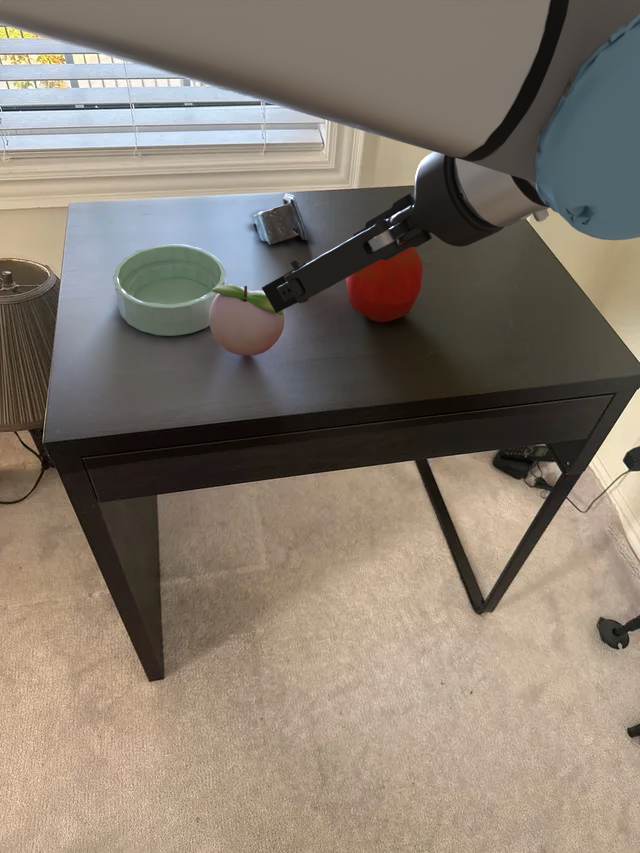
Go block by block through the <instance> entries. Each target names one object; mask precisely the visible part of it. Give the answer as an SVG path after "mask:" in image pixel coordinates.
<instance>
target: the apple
mask: <svg viewBox="0 0 640 853" xmlns="http://www.w3.org/2000/svg"><path fill="white" fill-rule="evenodd" d="M403 243H404V242H403ZM401 244H402V243H400V244H399V245H401ZM423 271H424V270H423V262H422V260H421V257H420V255H419V253H418V251H417V249H416V247H410V248H408V249H406V250H404V251H402V252H401V253H399V254H397V255H395V256H393V257H392V258H390V259H388V260H382V259H381V260H379V261H377V262H375V263H373V264H371V265H369V266H368V267H366V268H364V269H362V270H360V271H358V272H356V273H355V274H353V275H351V276H349V277H347V278H345V280H346V287H347V288H346V289H347V296H348V301H349V302H348V303H349V304H350V306H351V307H352V308H353V310H355V311H357V312H358V313H359V314H361V315H363V316H364V317H366V318H367V319H368V320H371V321H373V322H376V323H386V322H391V321H394V320H397V319H400V318H402V317H404V316H405V315H408V314H409V313H410V311H411V309H412V308H413V306H414V305H415V301H416V300H417V298H418V296H419V294H420V291H421V289H422V282H423Z"/></svg>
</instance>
